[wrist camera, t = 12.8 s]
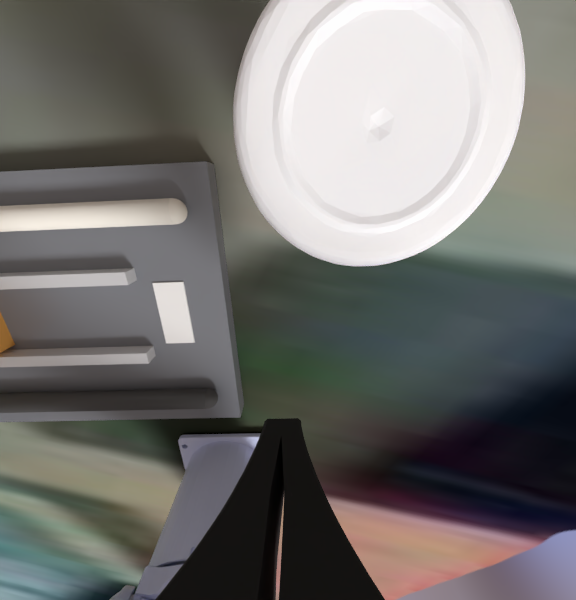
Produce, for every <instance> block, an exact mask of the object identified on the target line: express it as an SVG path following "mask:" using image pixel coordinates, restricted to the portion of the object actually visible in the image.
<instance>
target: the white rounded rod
mask: <svg viewBox="0 0 576 600" xmlns="http://www.w3.org/2000/svg"><path fill="white" fill-rule="evenodd" d="M187 214H188V212H187V208H186V206H185V204H184V203H183V202H182V201H180V200H178V199H175V198H164V199H142V200H120V201H98V202H77V203H55V204H33V205H11V206H0V232H10V231H33V230H56V229H80V228H103V227H127V226H150V225H174V224H180V223H182V222H184V221H185V219H186V218H187Z"/></svg>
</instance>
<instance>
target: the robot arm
mask: <svg viewBox="0 0 576 600" xmlns="http://www.w3.org/2000/svg"><path fill="white" fill-rule="evenodd" d="M178 443H179V447H180V451H181V455H182V459H183V464H184V468H185V474H184V476H183V479H182V481H181V484H180V486H179V489H178V492H177V494H176V497H175V499H174V502H173V504H172V507H171V509H170V512H169V515H168V517H167V520H166V522H165V525H164V527H163V530H162V532H161V535H160V538H159V540H158V543H157V545H156V548H155V550H154V553H153V555H152V558H151V561H150V563H149V566H146V567H145V569H144V572H143V575H142V577H141V580H140V582H139V585H138V587H137V590H136V592H135V595H133V592H134V589H135V587H134V586H130V585H126V586H125V587H123V589H122V590H121V592H118V593H117V594H116V595H114V596H113V597H112V598H111V599H110V600H275V597H276V569H277V555H278V545H279V536H280V526H281V516H282V506H283V497H284V517H283V537H282V557H281V575H280V592H279V600H385V599H384V598H383V596H382V594H381V593H380V591H379V590H378V588H377V587H376V585H375V584H374V582H373V581H372V579H371V577H370V576H369V574H368V573H367V571H366V569H365V567H364V566H363V564H362V562H361V561H360V559H359V557H358V556H357V554H356V552H355V551H354V549H353V547H352V546H351V544H350V542H349V541H348V539H347V537H346V535H345V533H344V531H343V530H342V528H341V526H340V524H339V522H338V520H337V518H336V516H335V514H334V512H333V510H332V508H331V506H330V504H329V502H328V500H327V498H326V496H325V494H324V491H323V489H322V487H321V484H320V482H319V480H318V477H317V475H316V472H315V470H314V467H313V465H312V462H311V459H310V456H309V454H308V451H307V447H306V444H305V440H304V437H303V432H302V427H301V421H300V420H299V419H298V418H297V419H267V420H266V421H265V423H264V426H263V429H262V432H261V433H251V434H194V435H181V436H180V438H179V440H178Z"/></svg>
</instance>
